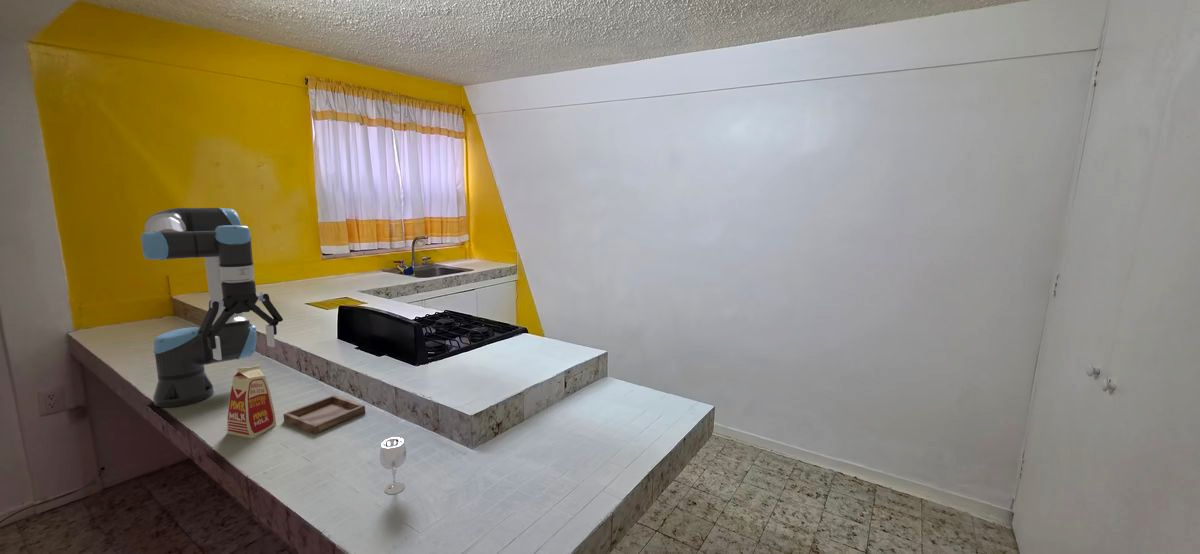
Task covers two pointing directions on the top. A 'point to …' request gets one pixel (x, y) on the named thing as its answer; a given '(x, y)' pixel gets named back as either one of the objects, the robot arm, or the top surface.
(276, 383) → the top surface
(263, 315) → the robot arm
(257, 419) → the milk carton
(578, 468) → the top surface
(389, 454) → the wineglass
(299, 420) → the tray
